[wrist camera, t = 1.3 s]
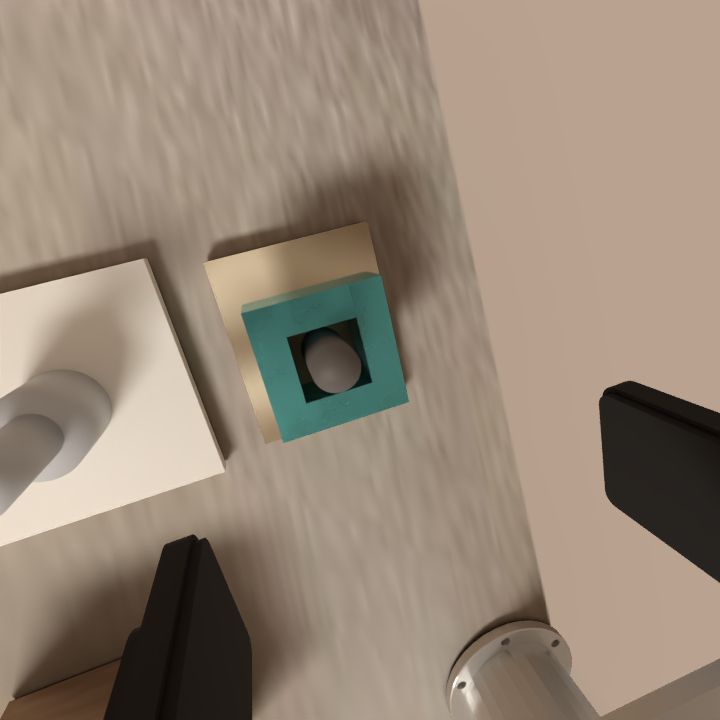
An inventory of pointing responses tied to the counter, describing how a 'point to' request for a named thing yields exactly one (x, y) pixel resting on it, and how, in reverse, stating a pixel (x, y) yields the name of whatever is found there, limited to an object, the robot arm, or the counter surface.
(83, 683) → the tool caddy
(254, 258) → the stand
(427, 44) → the counter surface
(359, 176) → the counter surface
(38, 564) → the counter surface
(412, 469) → the counter surface
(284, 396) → the teal square frame
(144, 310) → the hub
